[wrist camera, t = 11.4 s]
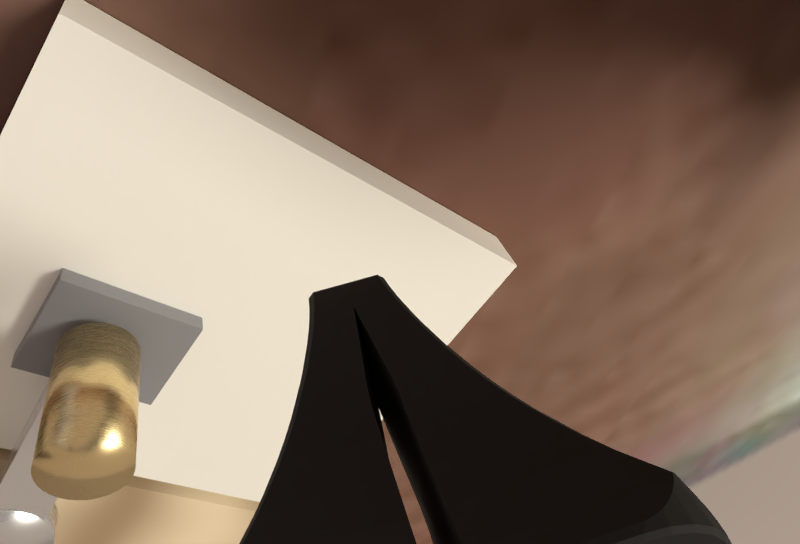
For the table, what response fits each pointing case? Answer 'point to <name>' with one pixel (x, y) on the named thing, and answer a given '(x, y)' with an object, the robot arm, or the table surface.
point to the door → (198, 246)
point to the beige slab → (152, 515)
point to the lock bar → (74, 433)
